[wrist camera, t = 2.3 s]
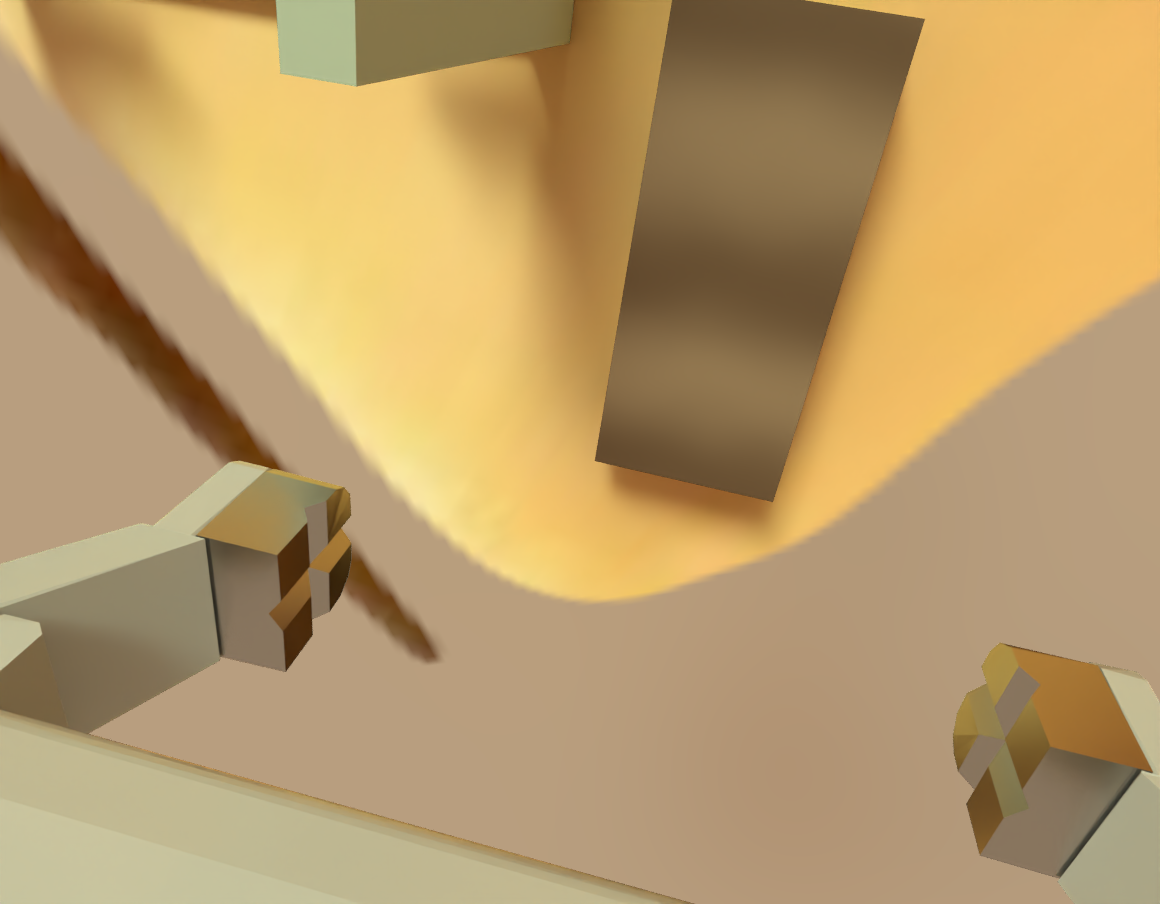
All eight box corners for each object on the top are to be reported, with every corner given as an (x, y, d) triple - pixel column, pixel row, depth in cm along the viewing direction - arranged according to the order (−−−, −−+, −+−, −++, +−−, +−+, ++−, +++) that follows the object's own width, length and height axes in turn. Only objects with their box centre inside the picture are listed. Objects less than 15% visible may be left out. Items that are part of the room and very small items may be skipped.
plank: (689, -17, 23) (675, -20, 20) (904, 16, 22) (924, 19, 19) (613, 414, 30) (594, 460, 27) (773, 450, 29) (772, 501, 26)
